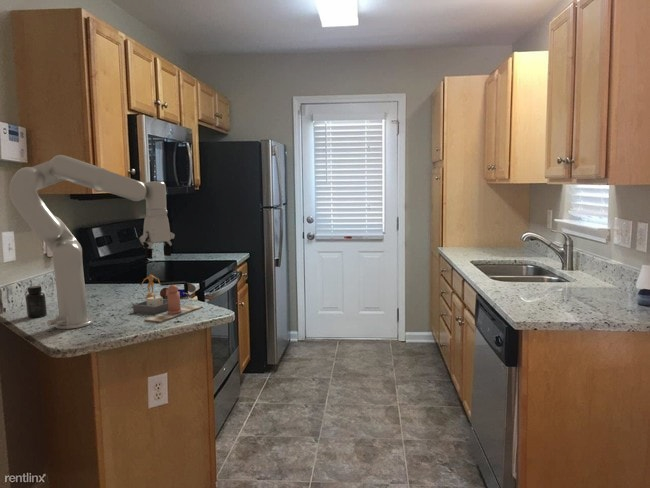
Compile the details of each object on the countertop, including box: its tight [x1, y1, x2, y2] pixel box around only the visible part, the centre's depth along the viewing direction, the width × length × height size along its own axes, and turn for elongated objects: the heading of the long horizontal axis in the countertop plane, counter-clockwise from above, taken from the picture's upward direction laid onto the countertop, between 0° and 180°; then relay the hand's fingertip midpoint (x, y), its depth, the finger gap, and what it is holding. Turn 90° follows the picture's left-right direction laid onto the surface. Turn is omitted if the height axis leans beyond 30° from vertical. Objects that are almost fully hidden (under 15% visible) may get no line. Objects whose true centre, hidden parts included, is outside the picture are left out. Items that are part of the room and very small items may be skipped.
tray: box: [132, 298, 168, 315], centre depth 214 cm, size 12×12×3 cm
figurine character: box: [159, 280, 197, 299], centre depth 237 cm, size 7×8×15 cm
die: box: [145, 295, 164, 306], centre depth 213 cm, size 5×5×5 cm
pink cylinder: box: [167, 285, 182, 314], centre depth 205 cm, size 5×5×11 cm
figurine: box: [140, 274, 161, 299], centre depth 229 cm, size 8×6×12 cm
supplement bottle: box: [25, 285, 48, 319], centre depth 209 cm, size 7×7×12 cm
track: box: [143, 304, 204, 324], centre depth 205 cm, size 24×8×1 cm, turn 154°
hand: (158, 257), depth 205 cm, fingers open, 9 cm apart
